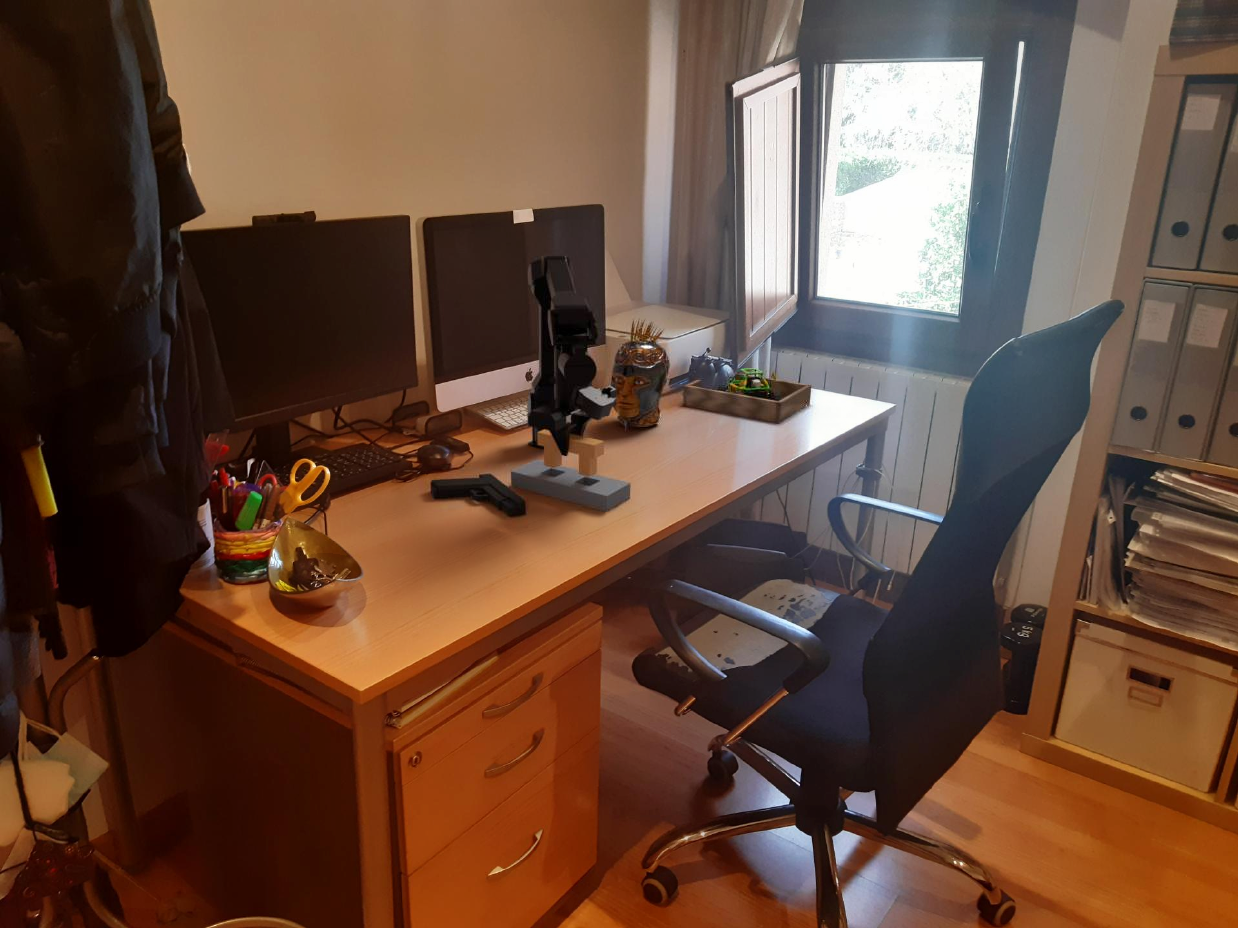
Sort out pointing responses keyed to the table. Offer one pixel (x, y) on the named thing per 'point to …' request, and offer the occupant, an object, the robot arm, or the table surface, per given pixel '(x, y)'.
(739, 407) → the tray
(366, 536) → the table surface
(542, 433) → the wooden arch block
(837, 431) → the table surface
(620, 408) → the mask
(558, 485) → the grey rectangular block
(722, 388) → the motor vehicle
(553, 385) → the robot arm
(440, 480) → the handgun
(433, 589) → the table surface
